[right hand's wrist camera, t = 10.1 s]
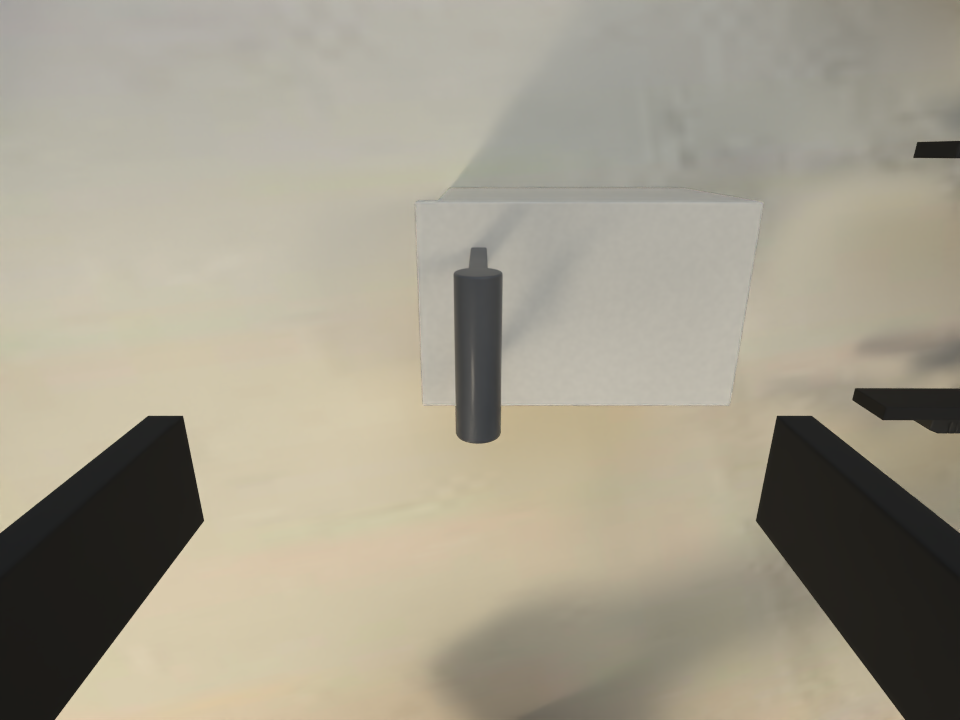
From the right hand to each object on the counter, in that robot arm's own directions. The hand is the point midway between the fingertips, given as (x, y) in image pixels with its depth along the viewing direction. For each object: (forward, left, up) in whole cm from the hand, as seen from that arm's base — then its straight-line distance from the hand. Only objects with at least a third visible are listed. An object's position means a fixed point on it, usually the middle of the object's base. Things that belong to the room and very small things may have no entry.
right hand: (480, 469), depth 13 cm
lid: (+3, -4, -14) cm, 15 cm away
